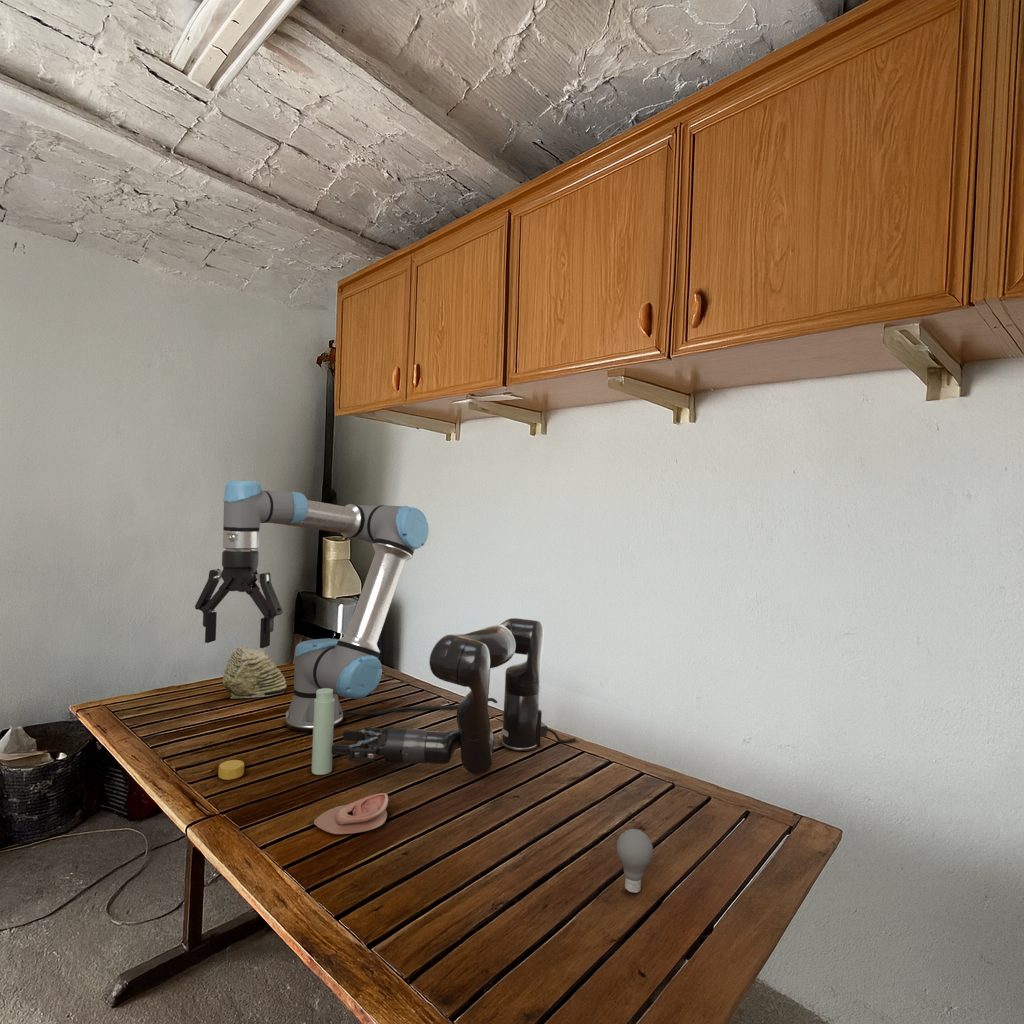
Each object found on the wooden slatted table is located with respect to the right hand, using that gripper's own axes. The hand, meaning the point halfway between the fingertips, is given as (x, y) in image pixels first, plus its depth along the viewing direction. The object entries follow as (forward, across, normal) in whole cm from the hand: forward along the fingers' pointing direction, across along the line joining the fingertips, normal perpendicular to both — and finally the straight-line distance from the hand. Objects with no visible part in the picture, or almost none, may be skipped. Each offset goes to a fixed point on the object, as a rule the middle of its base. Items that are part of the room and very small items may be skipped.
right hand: (337, 742), depth 147 cm
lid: (+22, +5, +5) cm, 23 cm away
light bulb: (-62, +40, +7) cm, 74 cm away
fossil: (+41, -50, +6) cm, 65 cm away
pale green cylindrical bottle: (+3, 0, +7) cm, 7 cm away
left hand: (+22, +5, -23) cm, 32 cm away
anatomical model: (-10, +22, +7) cm, 25 cm away
